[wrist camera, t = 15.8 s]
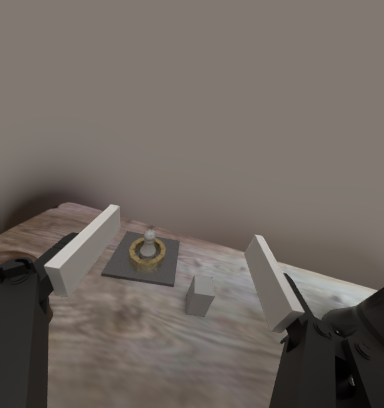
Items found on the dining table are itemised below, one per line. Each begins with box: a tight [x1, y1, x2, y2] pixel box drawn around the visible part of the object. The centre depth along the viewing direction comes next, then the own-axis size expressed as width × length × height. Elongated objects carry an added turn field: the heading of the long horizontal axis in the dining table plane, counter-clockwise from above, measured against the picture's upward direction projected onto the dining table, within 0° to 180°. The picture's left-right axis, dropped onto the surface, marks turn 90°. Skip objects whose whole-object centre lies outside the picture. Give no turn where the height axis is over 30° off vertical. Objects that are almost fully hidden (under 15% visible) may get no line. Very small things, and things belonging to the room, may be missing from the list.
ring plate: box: [102, 231, 180, 287], centre depth 41 cm, size 17×15×3 cm
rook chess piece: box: [139, 229, 156, 260], centre depth 39 cm, size 4×4×8 cm
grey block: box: [186, 274, 215, 317], centre depth 32 cm, size 4×4×8 cm
